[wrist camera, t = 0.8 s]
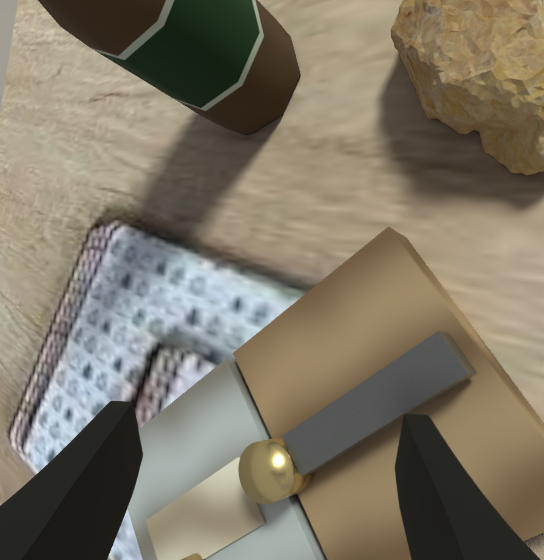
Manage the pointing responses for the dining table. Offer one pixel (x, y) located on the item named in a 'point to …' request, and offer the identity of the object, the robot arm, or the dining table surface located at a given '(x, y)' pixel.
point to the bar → (353, 419)
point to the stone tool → (480, 71)
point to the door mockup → (314, 397)
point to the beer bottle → (194, 52)
